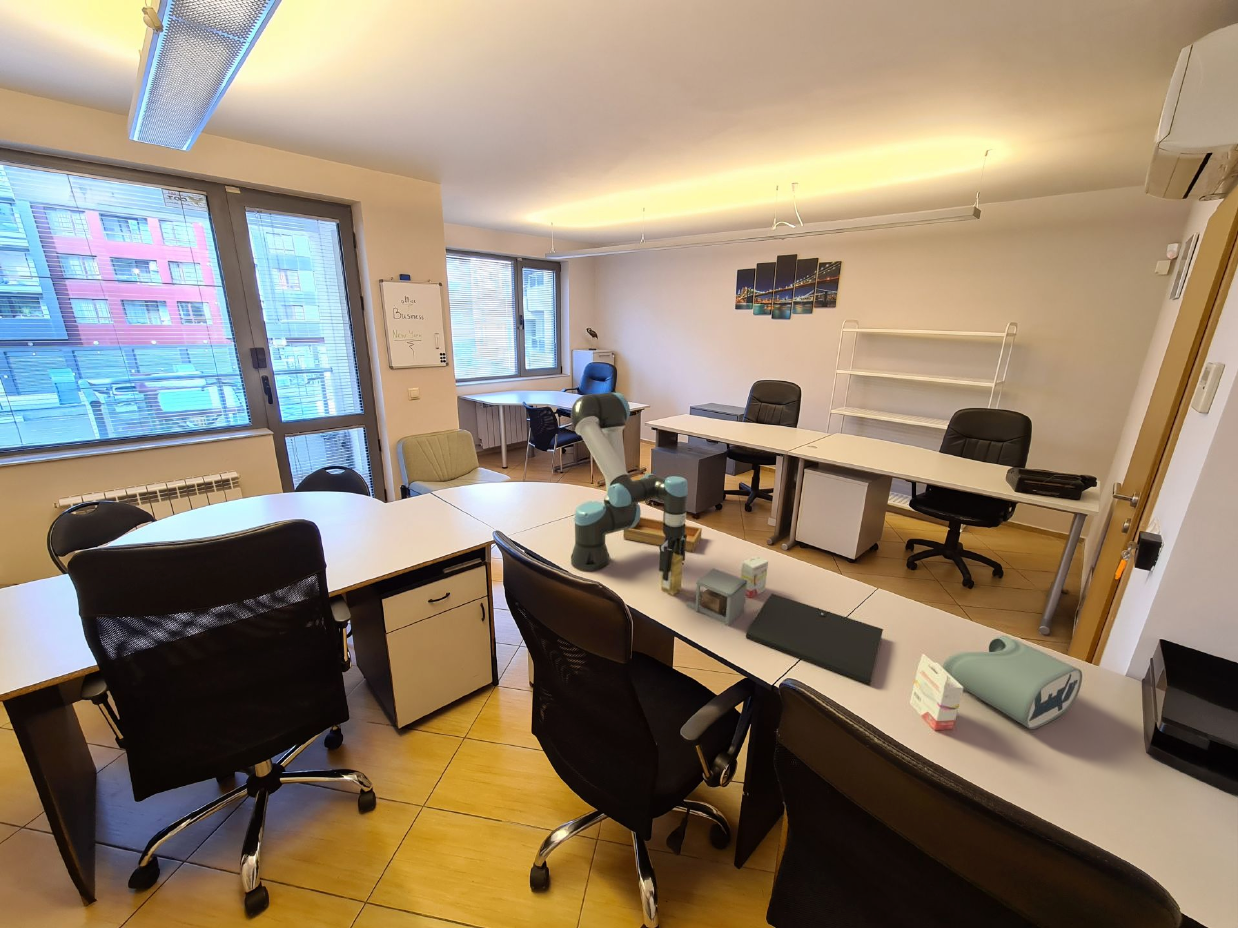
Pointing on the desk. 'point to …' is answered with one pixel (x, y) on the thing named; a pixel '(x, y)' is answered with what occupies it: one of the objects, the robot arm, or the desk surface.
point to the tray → (660, 533)
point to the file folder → (817, 637)
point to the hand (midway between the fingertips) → (671, 584)
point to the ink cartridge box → (936, 695)
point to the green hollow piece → (1017, 680)
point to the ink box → (754, 575)
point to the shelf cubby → (725, 586)
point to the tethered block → (708, 600)
